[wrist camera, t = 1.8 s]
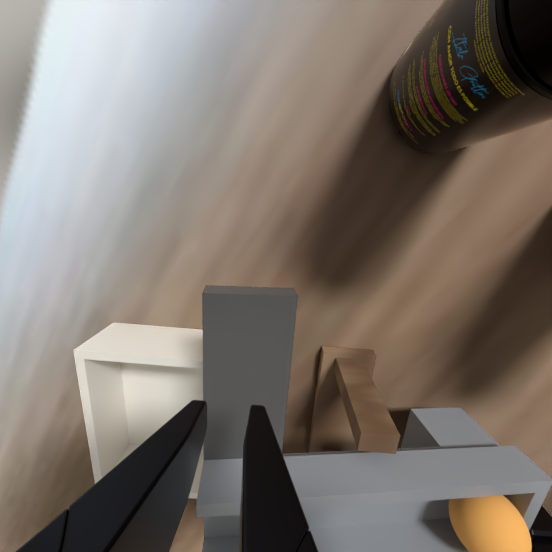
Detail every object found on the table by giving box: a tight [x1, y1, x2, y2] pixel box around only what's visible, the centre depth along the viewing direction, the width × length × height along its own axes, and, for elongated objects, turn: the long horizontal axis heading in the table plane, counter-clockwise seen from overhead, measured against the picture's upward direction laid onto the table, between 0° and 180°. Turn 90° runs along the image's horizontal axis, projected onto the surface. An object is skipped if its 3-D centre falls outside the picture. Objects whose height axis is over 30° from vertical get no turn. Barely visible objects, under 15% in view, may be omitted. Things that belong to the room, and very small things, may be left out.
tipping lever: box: [196, 285, 552, 552], centre depth 15 cm, size 18×16×6 cm
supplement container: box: [388, 0, 552, 154], centre depth 10 cm, size 7×7×10 cm
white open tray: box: [73, 323, 204, 499], centre depth 20 cm, size 12×12×4 cm
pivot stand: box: [308, 346, 400, 454], centre depth 18 cm, size 4×11×8 cm, turn 176°
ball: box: [449, 495, 532, 552], centre depth 14 cm, size 4×4×4 cm
